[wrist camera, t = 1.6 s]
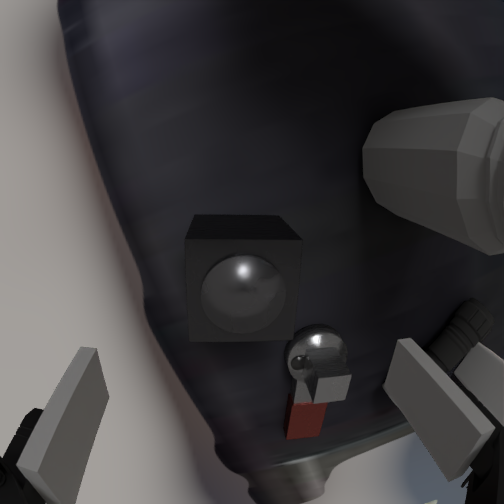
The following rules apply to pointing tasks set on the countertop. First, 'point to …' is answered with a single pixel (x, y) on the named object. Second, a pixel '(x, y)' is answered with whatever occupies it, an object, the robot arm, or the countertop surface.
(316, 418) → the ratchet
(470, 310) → the flashlight
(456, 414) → the robot arm
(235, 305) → the speaker cube
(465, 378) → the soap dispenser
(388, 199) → the jar
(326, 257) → the countertop surface
